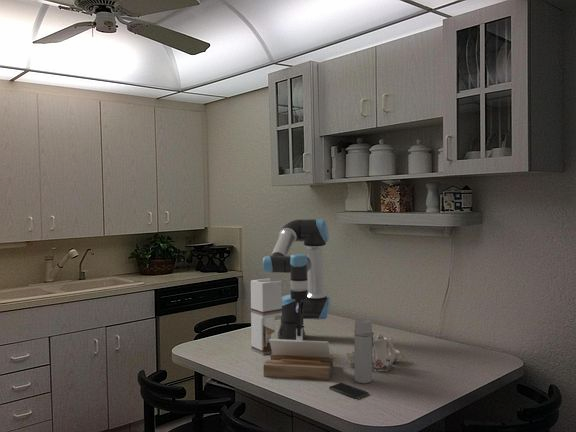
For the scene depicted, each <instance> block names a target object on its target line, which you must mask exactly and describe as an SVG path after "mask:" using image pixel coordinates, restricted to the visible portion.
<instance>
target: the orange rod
mask: <svg viewBox="0 0 576 432" xmlns="http://www.w3.org/2000/svg"><path fill="white" fill-rule="evenodd" d="M281 360H284V361H304V362H320V361H314V360H294V359H281Z"/></svg>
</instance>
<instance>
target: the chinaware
mask: <svg viewBox="0 0 576 432" xmlns="http://www.w3.org/2000/svg"><path fill="white" fill-rule="evenodd" d="M393 339H394V337H392V336H391V337H390V338H389V339H388V338H387V337H384V336H383V334H382V333H381V332H379V333H378V335H376V337H373V341H374V349H373V350H372V367H373V368H374V365H375V359H376V366H375V368H374V369H373V368H372V371H373V370H376V371H386V370H389V369H390V368H392V366H393V363H392V362H394V363H395V362H396V363H397V362H398V361H403V359H404V357H402V358H401V359H399V356H401V355H402V356H404V354H403V353H401V350H398V349H397V348H394V344H393ZM387 341H388V348H387ZM374 350H375V359H374ZM347 361H348V363H349V364H347ZM344 363H345V365H346V366H350V367H353V366H354V367H353V368H355V351H353V352H351V353H350V352H348V353H346V358H345V360H344ZM376 371H375V372H376ZM389 371H390V370H389ZM386 372H387V371H386Z"/></svg>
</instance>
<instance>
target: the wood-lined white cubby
mask: <svg viewBox="0 0 576 432" xmlns="http://www.w3.org/2000/svg"><path fill="white" fill-rule="evenodd" d="M271 279H272V278H263V279H262V278H261V279H252V280H250V325H251V326H250V329H251V330H250V332H251V333H250V336H251V338H250V340H251V348H250V349H251V351H252V352H255V353H257V354H260V355H262V356H266V355H269V354H270V355H271V354H272V350H271V346H270V342H269V339H272V334H274V333H275V332H276V324H275V322H276V321H275V320H276V319H275V318H276V317H281V315H282V297H283V292H282V291H283V289H282V283H283V281H282V280H277V281H276V280H274V281H271Z"/></svg>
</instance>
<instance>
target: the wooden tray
mask: <svg viewBox="0 0 576 432" xmlns="http://www.w3.org/2000/svg"><path fill="white" fill-rule="evenodd" d="M281 359H294V360H314V361H320V362H304V361H284V360H281ZM333 368H334V355H333V354H330V357H310V356H289V355H273V354H272V353H270V359H266V360H265V362H264V363H263V377H268V378H269V377H270V378H273V377H274V378H287V379H289V378H290V379H304V380H322V381H330V378H331V374H332V373H333Z"/></svg>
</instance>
